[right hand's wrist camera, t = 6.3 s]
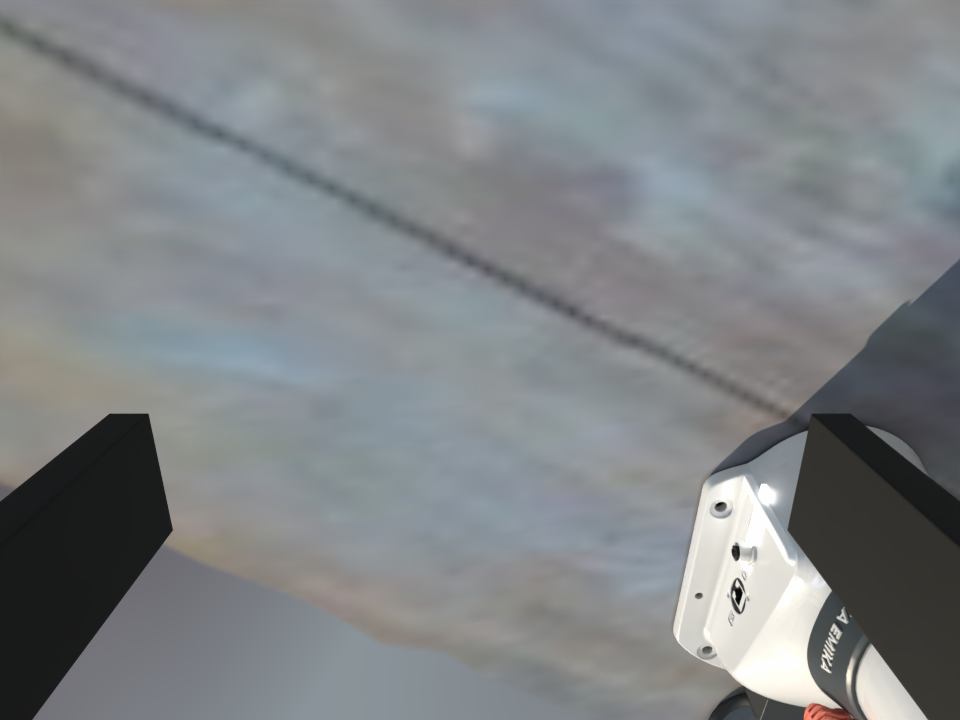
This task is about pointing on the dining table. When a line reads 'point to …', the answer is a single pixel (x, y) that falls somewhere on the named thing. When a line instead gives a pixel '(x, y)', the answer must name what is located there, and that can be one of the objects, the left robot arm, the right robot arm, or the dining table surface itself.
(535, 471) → the dining table surface
